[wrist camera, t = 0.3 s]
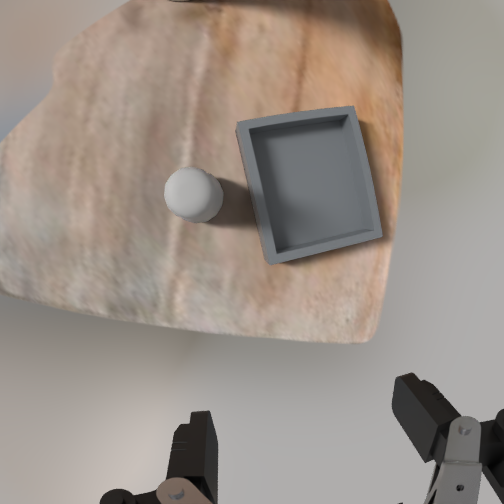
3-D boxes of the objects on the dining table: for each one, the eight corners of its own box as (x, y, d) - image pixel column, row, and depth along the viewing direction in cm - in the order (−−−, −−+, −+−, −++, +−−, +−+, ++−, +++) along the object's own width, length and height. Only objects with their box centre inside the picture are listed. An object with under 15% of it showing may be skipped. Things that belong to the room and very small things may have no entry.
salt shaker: (177, 171, 37) (157, 152, 24) (225, 175, 38) (228, 157, 25) (172, 220, 38) (150, 225, 25) (220, 224, 38) (221, 231, 25)
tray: (235, 130, 37) (237, 121, 33) (341, 114, 38) (353, 105, 34) (264, 259, 39) (269, 265, 35) (368, 234, 40) (382, 236, 36)
